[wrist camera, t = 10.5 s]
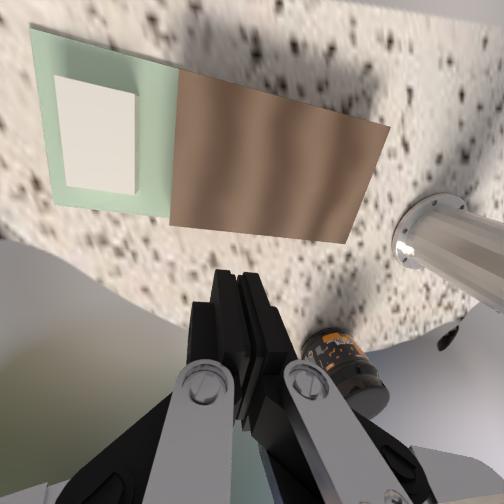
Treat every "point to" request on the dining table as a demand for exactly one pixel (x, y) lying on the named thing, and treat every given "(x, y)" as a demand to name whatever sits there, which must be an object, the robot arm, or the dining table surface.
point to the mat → (150, 125)
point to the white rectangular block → (99, 136)
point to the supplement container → (348, 370)
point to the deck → (267, 163)
